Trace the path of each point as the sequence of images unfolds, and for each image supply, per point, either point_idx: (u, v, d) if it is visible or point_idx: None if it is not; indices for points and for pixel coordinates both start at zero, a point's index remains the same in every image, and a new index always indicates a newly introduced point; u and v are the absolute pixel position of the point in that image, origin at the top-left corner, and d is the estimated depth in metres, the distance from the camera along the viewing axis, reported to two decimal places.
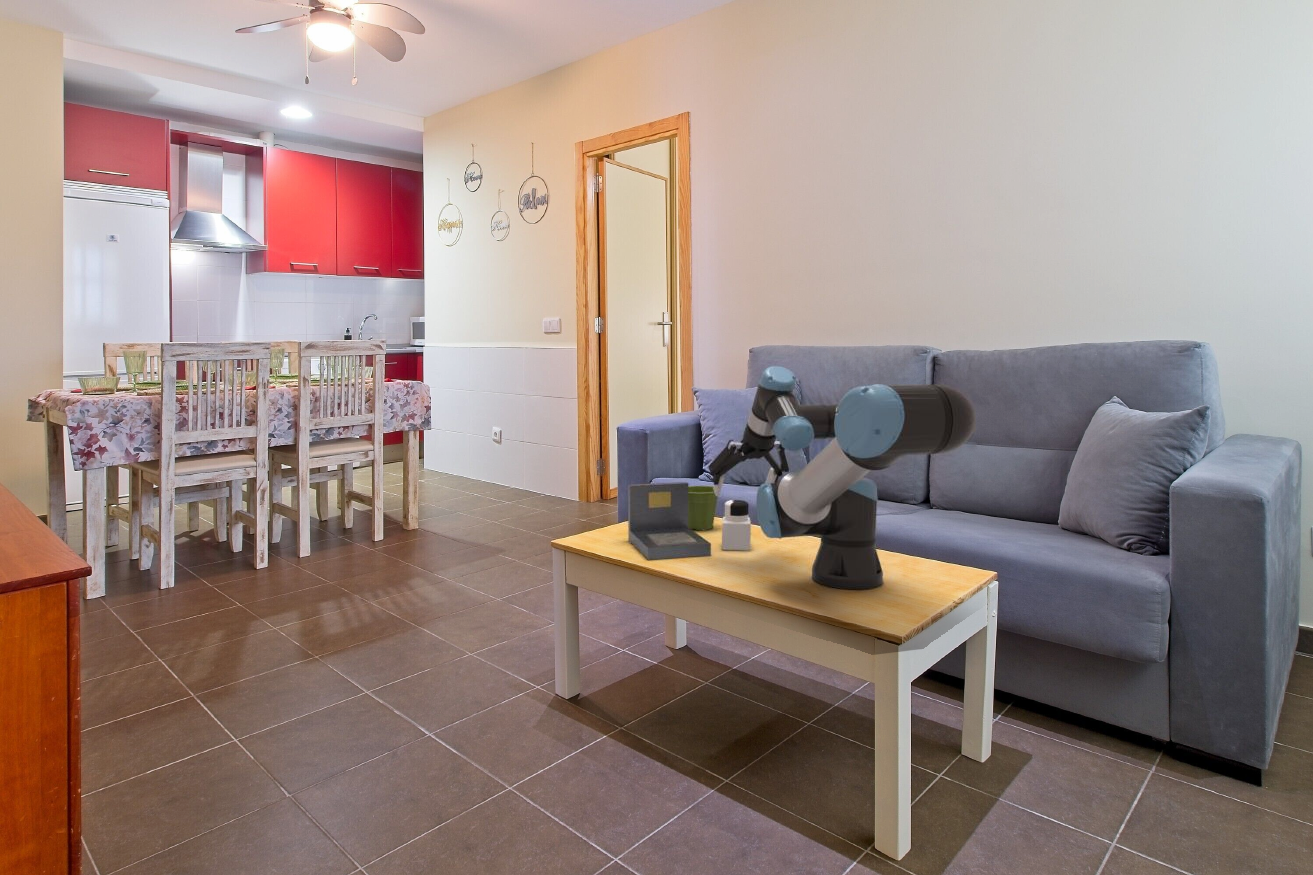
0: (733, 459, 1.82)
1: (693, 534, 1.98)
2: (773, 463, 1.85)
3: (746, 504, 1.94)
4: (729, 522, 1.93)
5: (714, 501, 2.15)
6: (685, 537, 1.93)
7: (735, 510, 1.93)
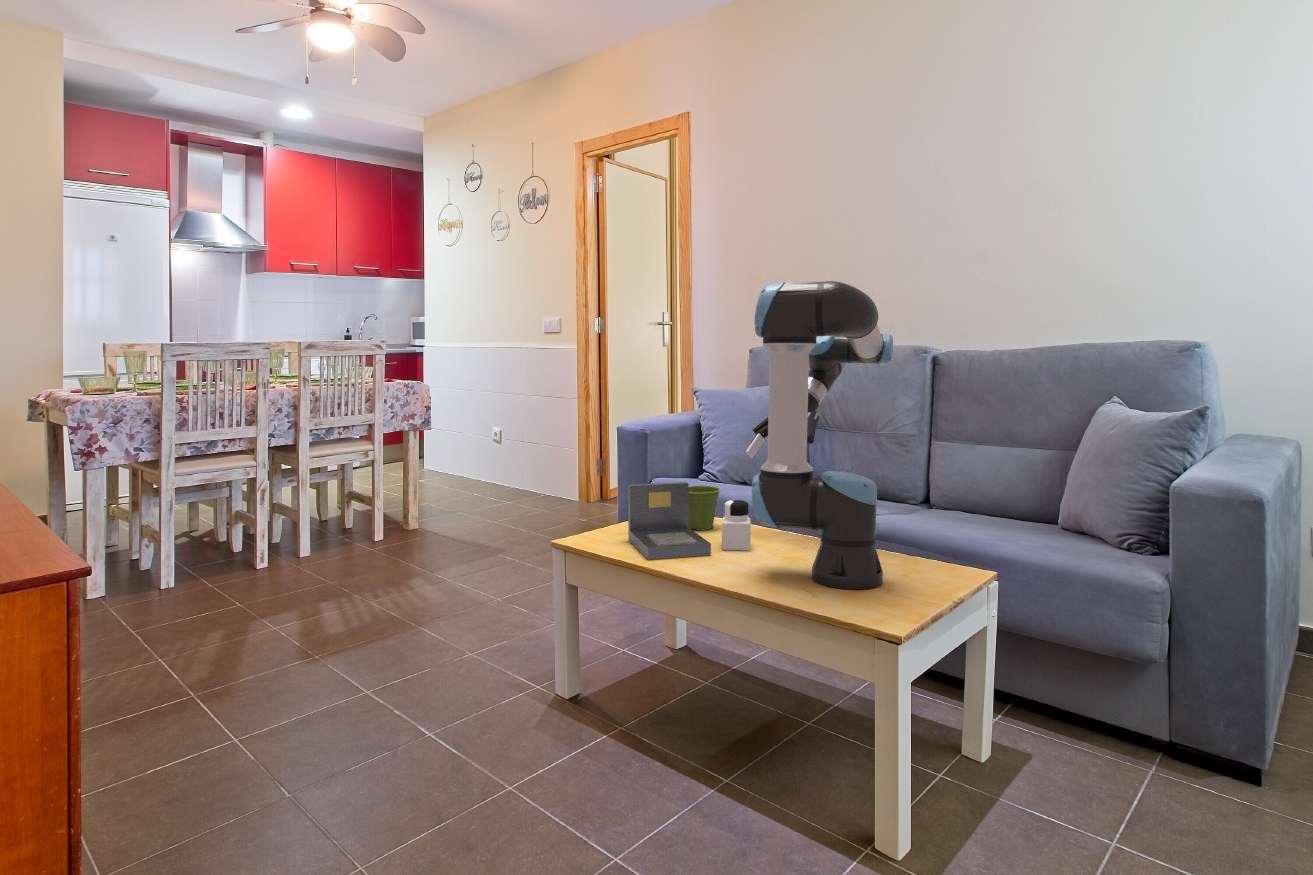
0: None
1: (693, 534, 1.98)
2: None
3: (746, 504, 1.94)
4: (729, 522, 1.93)
5: (714, 501, 2.15)
6: (685, 537, 1.93)
7: (734, 510, 1.93)
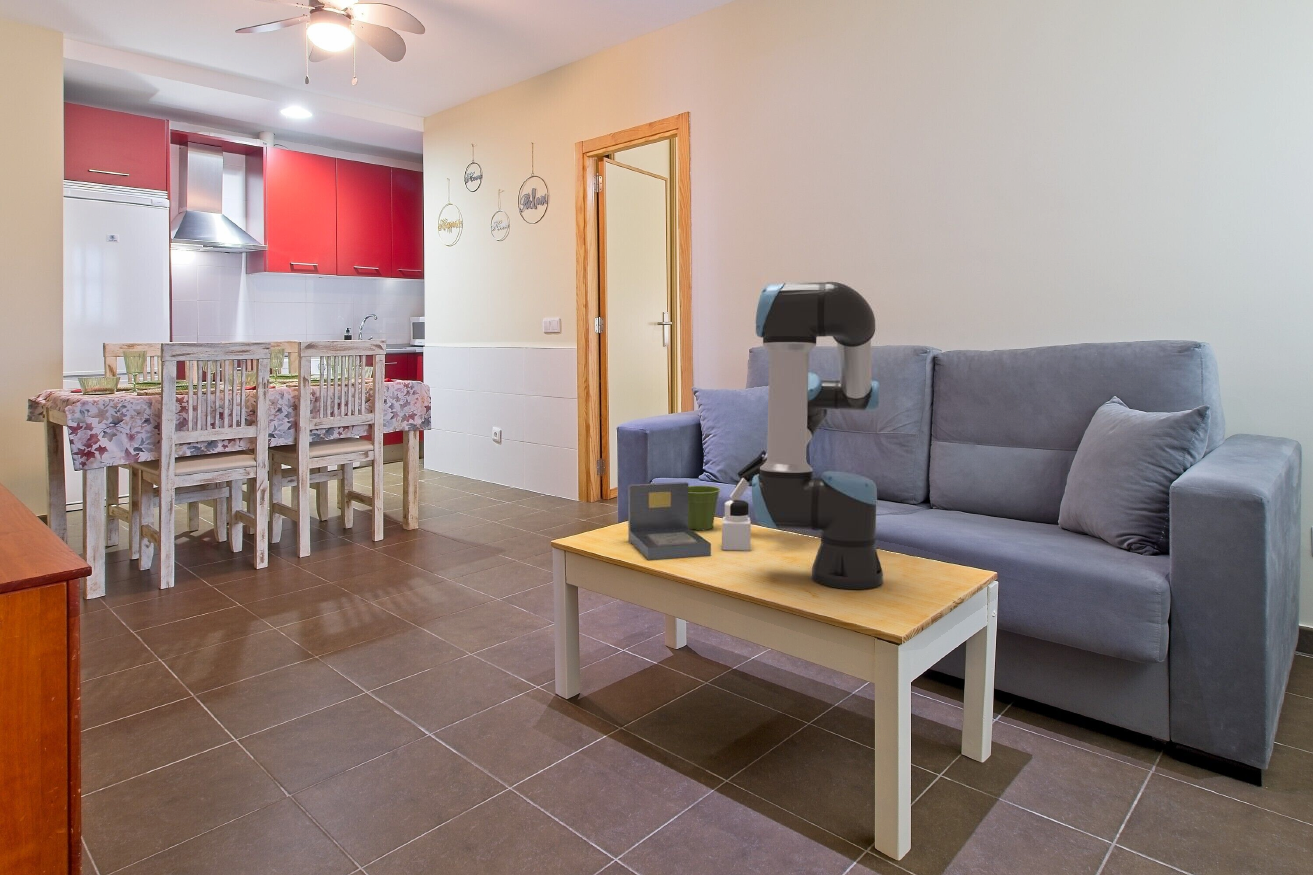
0: None
1: (693, 534, 1.98)
2: None
3: (746, 504, 1.94)
4: (729, 522, 1.93)
5: (714, 501, 2.15)
6: (685, 537, 1.93)
7: (734, 510, 1.93)
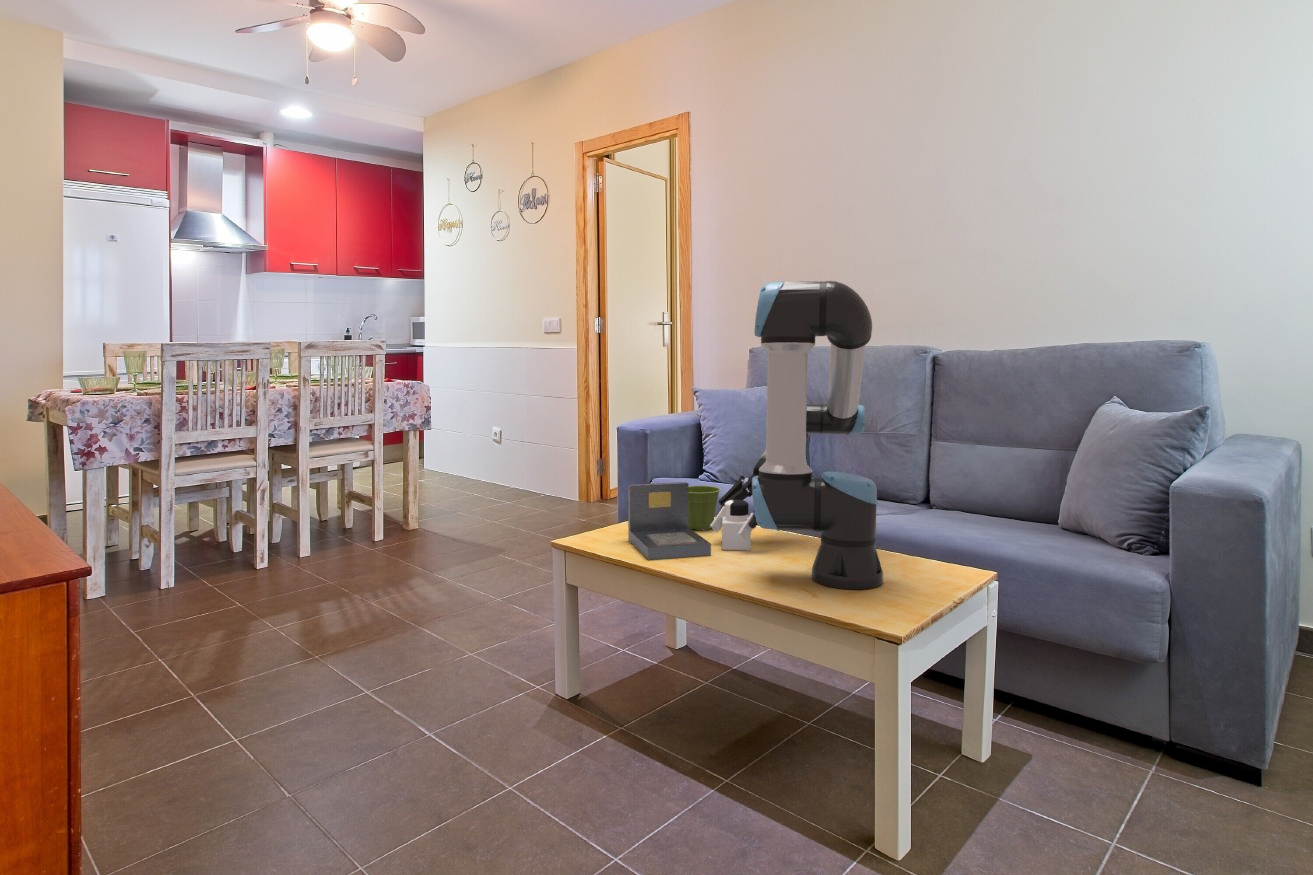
0: None
1: (693, 534, 1.98)
2: None
3: (746, 504, 1.94)
4: (729, 522, 1.93)
5: (714, 501, 2.15)
6: (685, 537, 1.93)
7: (734, 510, 1.93)
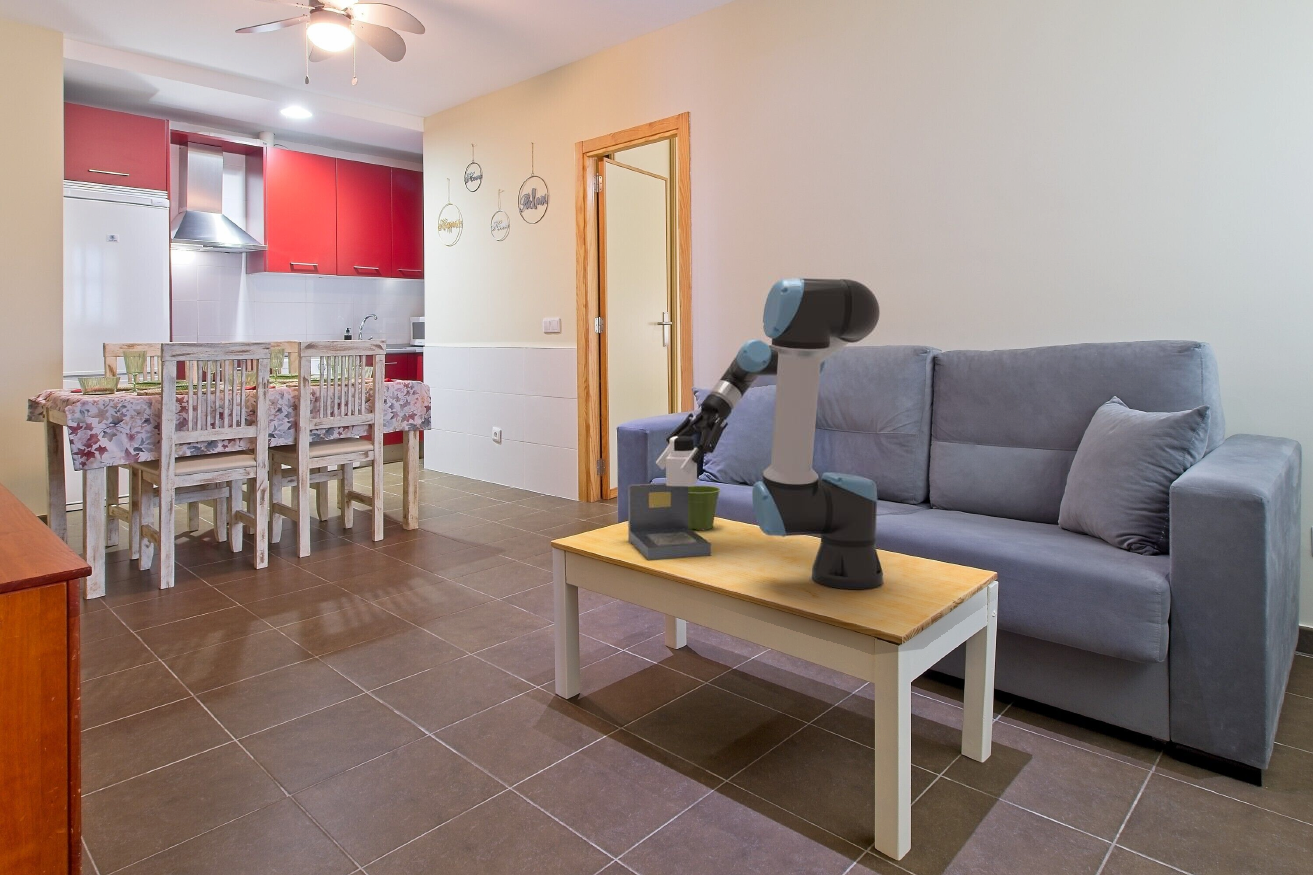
0: None
1: (693, 534, 1.98)
2: (703, 434, 1.90)
3: (690, 439, 1.90)
4: (673, 457, 1.90)
5: (714, 501, 2.15)
6: (685, 537, 1.93)
7: (678, 445, 1.89)
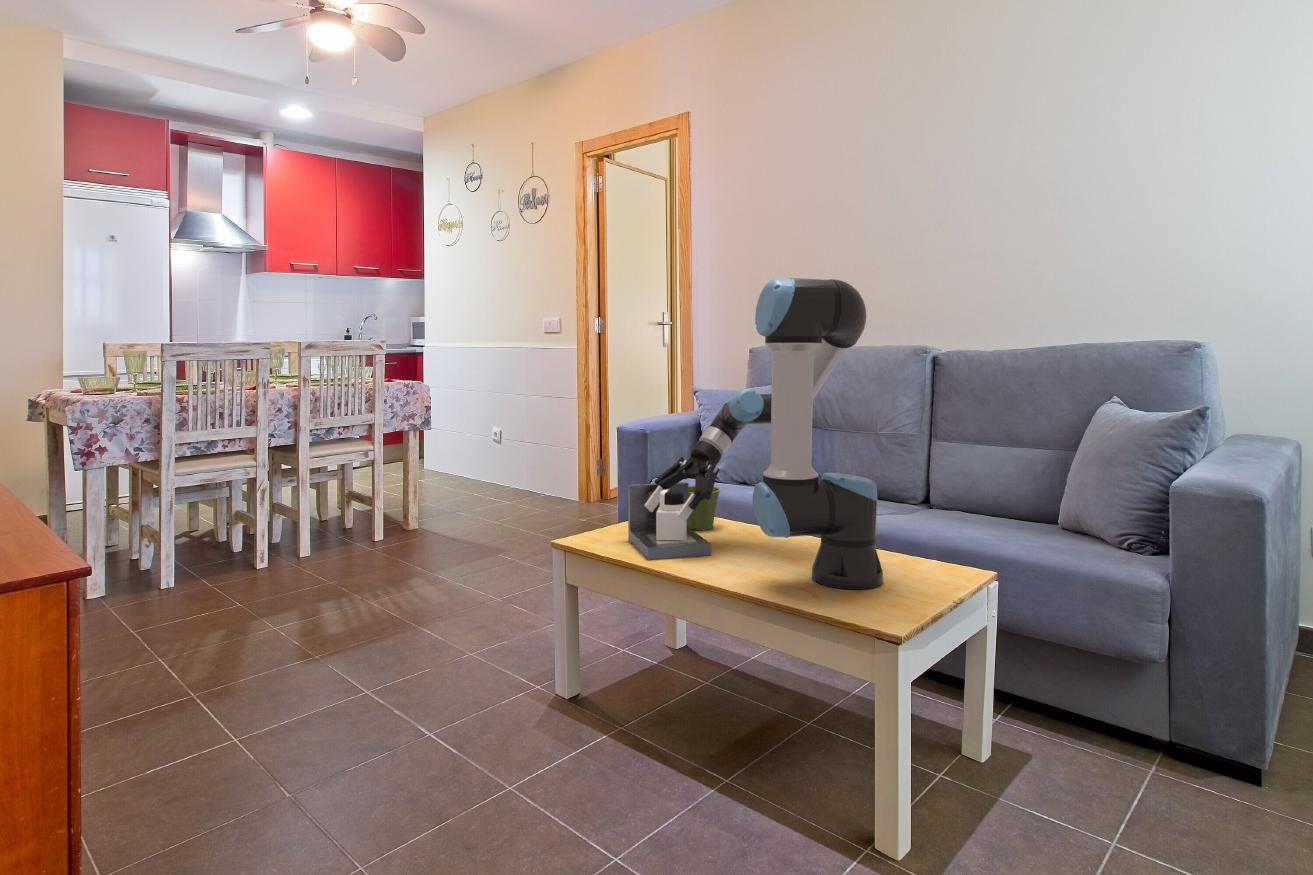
0: None
1: (693, 534, 1.98)
2: (698, 480, 1.90)
3: (681, 493, 1.90)
4: (663, 511, 1.89)
5: (714, 501, 2.15)
6: (685, 537, 1.93)
7: (669, 499, 1.89)
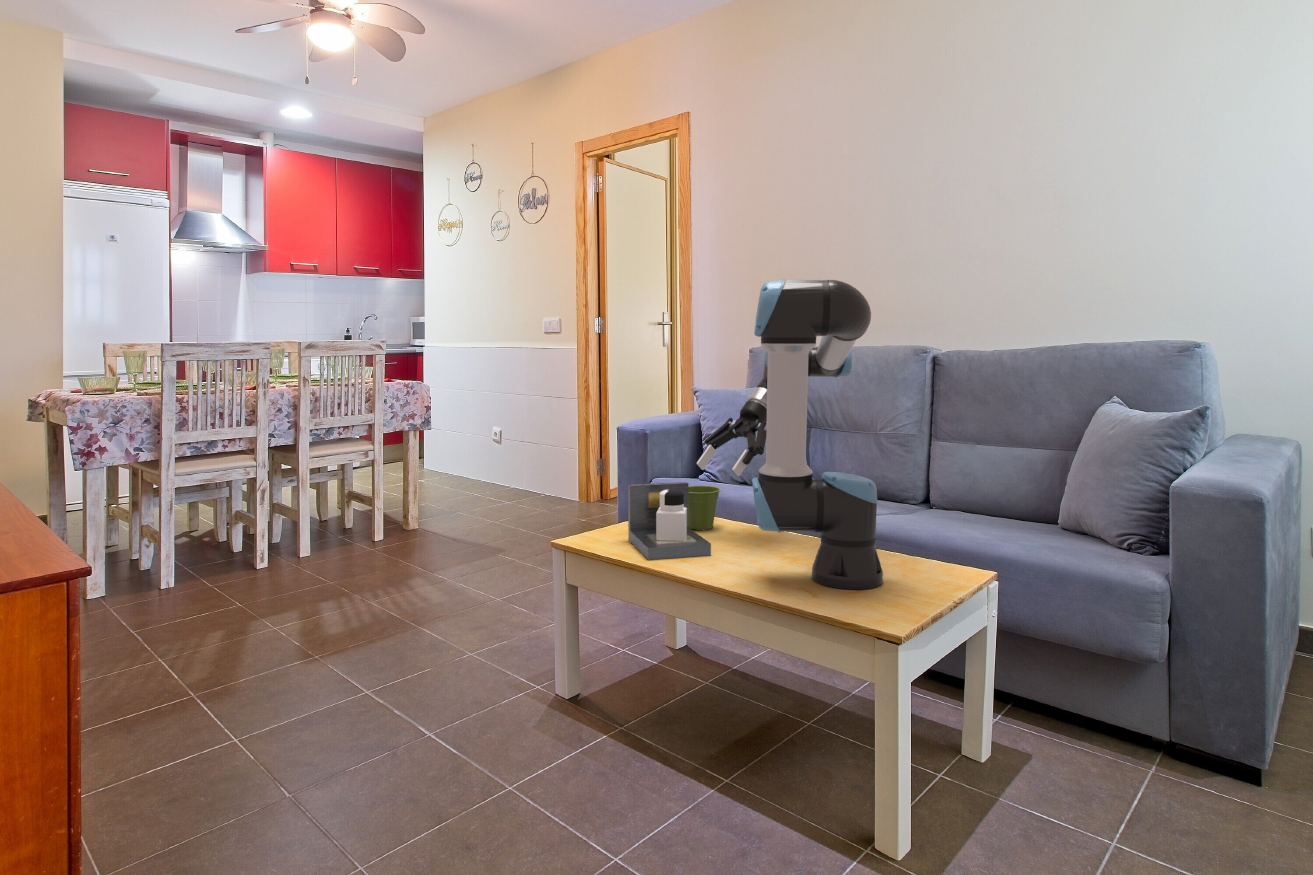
0: None
1: (693, 534, 1.98)
2: (749, 437, 1.98)
3: (681, 493, 1.90)
4: (663, 512, 1.89)
5: (714, 501, 2.15)
6: None
7: (669, 500, 1.89)
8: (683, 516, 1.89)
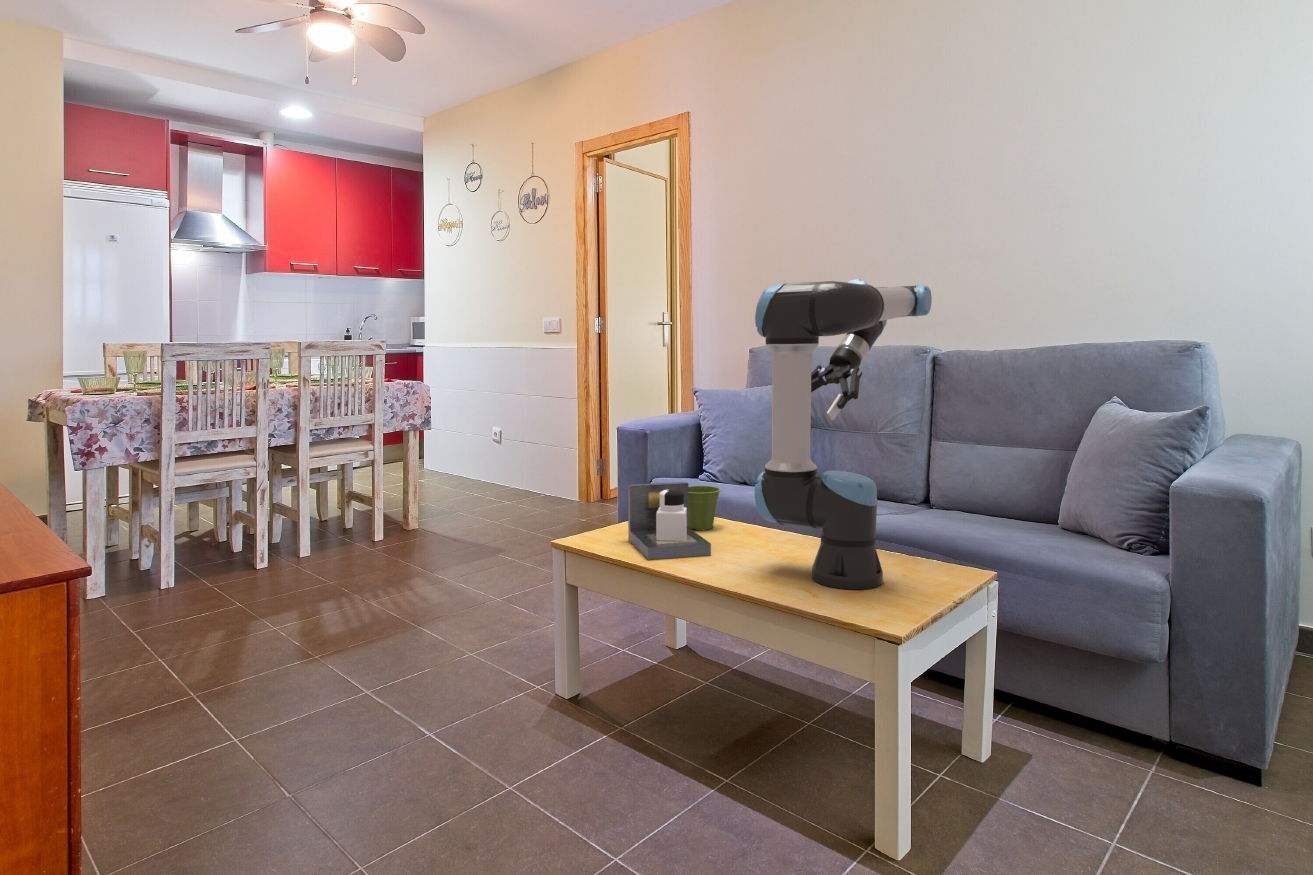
0: None
1: (693, 534, 1.98)
2: (843, 382, 1.95)
3: (681, 493, 1.90)
4: (663, 512, 1.89)
5: (714, 501, 2.15)
6: None
7: (669, 500, 1.89)
8: (683, 516, 1.89)
